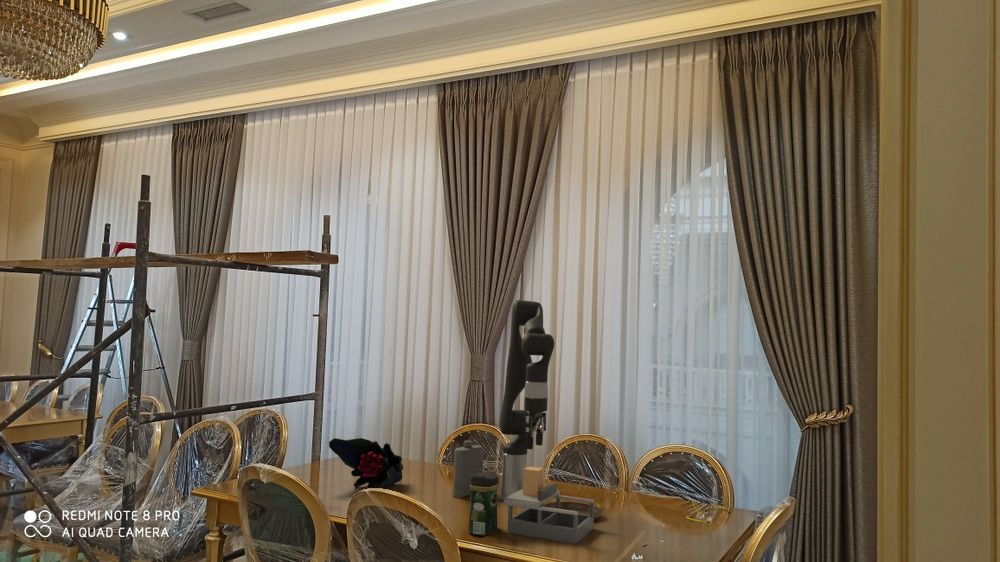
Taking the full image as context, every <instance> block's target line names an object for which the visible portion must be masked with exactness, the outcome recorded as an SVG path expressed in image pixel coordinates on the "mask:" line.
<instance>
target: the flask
mask: <svg viewBox="0 0 1000 562" xmlns="http://www.w3.org/2000/svg"><path fill="white" fill-rule="evenodd" d="M473 442H474V441H472V440H464V441H463V446H460V447H456V448H455V449H454V461H453V489H452V497H454V496H455V497H454V498H456V497H464V498H466V497H468V496H467V495H469V496H471V495H470V494H471V491H470V477H471V476H473V475H475V474H478V473H481V472H483V470H484V469H483V464H484V446H482V445H477V444H475V445H474V443H473ZM465 496H466V497H465Z"/></svg>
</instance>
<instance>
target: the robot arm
mask: <svg viewBox="0 0 1000 562" xmlns="http://www.w3.org/2000/svg"><path fill="white" fill-rule="evenodd" d="M510 321H511V323H510V339H509V340H510V341H509V349H508V355H507V356H508V357H507V362H506V372H505V373H506V374H505V382H504V383H505V384H504V393H503V401H502V405H501V409H500V417H499V431H500V433H501V434H502V435H504V436H505V435H507V436H509V435H510V436H516V435H517V436H516V438H514V439H513V440H511V441H510V442H509V441H508V442H507V443H504V444H503V446H502V467H501V470H502V471H501V473H499V486H498V490H499V491H498V500H500V501H503V502H504V499H505V498H506V497H508V496H510V495H512V494H514V493H516V492H518V491H519V490H521V489H523V469H525V468H527V467H528V450H533V449H534V436H535V445H536V446H543V444H544V443H543V442H544V441H543V440H544V434H545V432H546V430H547V411H548V407H549V406H548V401H549V400H548V399H549V398H548V397H549V386H548V384H549V383H548V379H549V375H548V374H549V367H550V360H551V357H552V355H553V352H554V349H555V339H554V337H553V335H552V334H549V333H546V330H545V327H544V309H543V306H542V304H541V303H540V302H538V301H531V300H524V299H523V300H522V299H517V300H514V301H513V304H512V308H511V320H510ZM521 326H522V327H523V337H522V335H521V331H520V327H521ZM531 356H542V357H541V359H540V360H538V361H536V362H533V360H532V357H531ZM523 390H524V396H523V399H524V400H523V409H514V408H513V407H514V405H515V403H516V400H517V398H518V396H520V394H521V392H522V391H523Z"/></svg>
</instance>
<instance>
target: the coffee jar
mask: <svg viewBox="0 0 1000 562" xmlns="http://www.w3.org/2000/svg"><path fill="white" fill-rule="evenodd" d="M499 484H500V481H499V475H498V473H496V471H490V470H482V472H481V473H478V474H475V475H473V476H471V477H470V491H471V495H470V499H469V502H470V503H469V515H468V516H469V517H468V533H469V534H470V535H473V536H475V535H479V536H478V537H487V536H489V535H491V534H492V533H494V532H496V531H497V530H498V494H499V491H498V490H499Z"/></svg>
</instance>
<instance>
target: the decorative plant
mask: <svg viewBox="0 0 1000 562" xmlns="http://www.w3.org/2000/svg"><path fill="white" fill-rule="evenodd" d="M390 444H391V443H388V442H386V443H384V444H383V447H381V446H380V444H379V442H378V441H377V440H373V441H372V440H369V439H365V438H363V437H358V438H351V439H342V438H335V437H334V438H332V439H331V440H329V442H328V447H329V449H330V450H331V451H332V452H333V453H334V454H335V455H337V456H338V458H339V459H340V460H341V461H342V463H344V465H346V466H347V467H349V468H351V469H353V470H352V471H351V472H350V474H351V476H352V477H358V479H357V480H356V481H355V482H354V483H353V487H354V486H355V487H357V488H359V487H361V486H363V485H366V484H367V485H366V489H367V488H375V489H376V488H377V487H378V486H380V485H382V486H383V488H386V487H388V486H390V485H393V484H392V483H395V484H397V483H399V482H402V479H403V469H404V464H403V463H402V461H403V458H402V455H398V454H395V453H394V452H393V450H392V448H391V445H390ZM355 487H354V488H355Z"/></svg>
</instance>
